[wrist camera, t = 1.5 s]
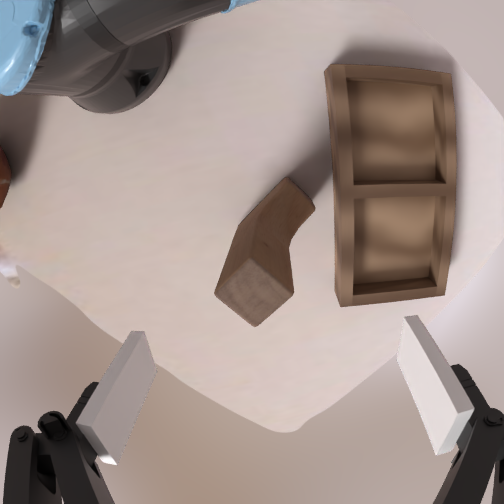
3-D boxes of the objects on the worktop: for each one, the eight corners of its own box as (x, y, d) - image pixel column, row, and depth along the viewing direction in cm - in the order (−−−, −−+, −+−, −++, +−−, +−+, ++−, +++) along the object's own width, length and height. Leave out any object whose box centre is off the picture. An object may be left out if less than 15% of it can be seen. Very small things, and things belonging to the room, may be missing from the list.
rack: (324, 71, 33) (330, 64, 29) (434, 77, 32) (450, 73, 28) (334, 290, 43) (340, 307, 39) (431, 280, 42) (444, 295, 38)
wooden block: (286, 175, 38) (297, 209, 21) (312, 200, 39) (342, 253, 22) (236, 226, 41) (211, 295, 24) (262, 250, 42) (255, 330, 25)
